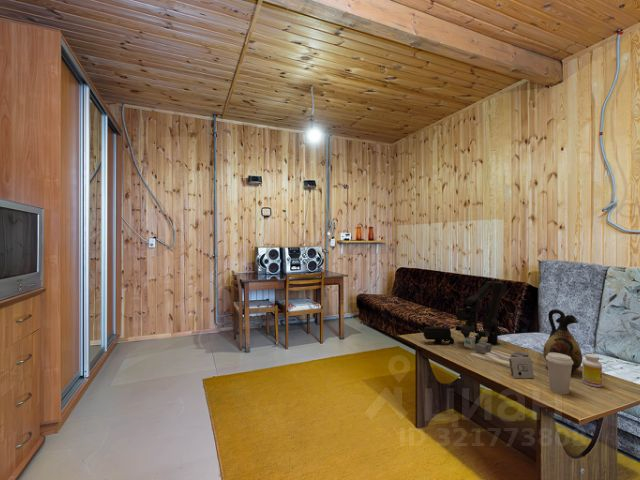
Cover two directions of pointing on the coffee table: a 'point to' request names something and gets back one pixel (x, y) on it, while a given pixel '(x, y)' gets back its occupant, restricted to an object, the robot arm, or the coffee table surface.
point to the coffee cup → (559, 372)
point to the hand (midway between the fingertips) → (471, 344)
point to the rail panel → (494, 354)
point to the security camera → (438, 334)
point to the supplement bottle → (592, 371)
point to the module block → (470, 342)
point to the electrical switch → (521, 367)
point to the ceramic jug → (563, 339)
